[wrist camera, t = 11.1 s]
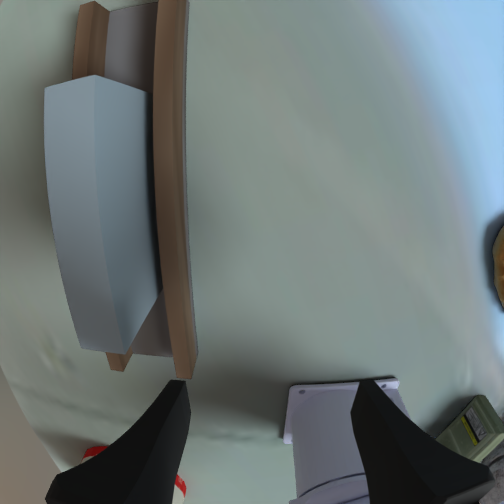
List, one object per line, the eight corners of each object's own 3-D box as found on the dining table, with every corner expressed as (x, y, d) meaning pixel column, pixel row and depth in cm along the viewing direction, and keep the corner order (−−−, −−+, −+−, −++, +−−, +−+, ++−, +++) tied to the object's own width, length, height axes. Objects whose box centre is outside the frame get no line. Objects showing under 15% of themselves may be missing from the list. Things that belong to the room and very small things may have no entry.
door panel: (152, 94, 16) (95, 74, 9) (163, 288, 20) (125, 354, 13) (114, 99, 16) (44, 87, 9) (128, 286, 20) (81, 348, 13)
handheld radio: (488, 395, 25) (367, 503, 34) (474, 392, 25) (350, 503, 33) (512, 434, 19) (373, 537, 27) (499, 433, 19) (355, 538, 27)
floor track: (189, 2, 14) (178, -18, 11) (198, 352, 23) (191, 379, 20) (101, 18, 14) (80, 5, 12) (124, 346, 23) (110, 369, 20)
